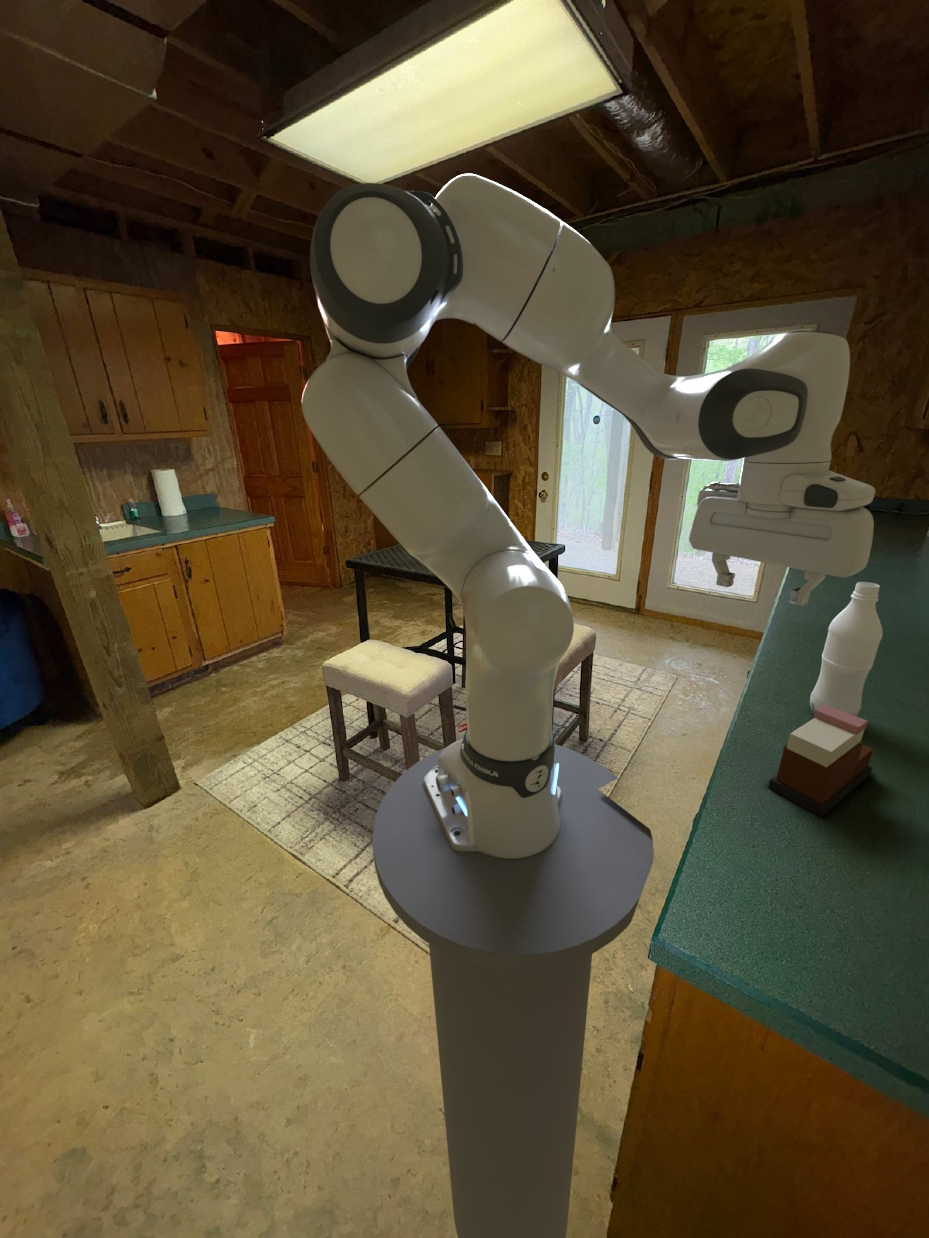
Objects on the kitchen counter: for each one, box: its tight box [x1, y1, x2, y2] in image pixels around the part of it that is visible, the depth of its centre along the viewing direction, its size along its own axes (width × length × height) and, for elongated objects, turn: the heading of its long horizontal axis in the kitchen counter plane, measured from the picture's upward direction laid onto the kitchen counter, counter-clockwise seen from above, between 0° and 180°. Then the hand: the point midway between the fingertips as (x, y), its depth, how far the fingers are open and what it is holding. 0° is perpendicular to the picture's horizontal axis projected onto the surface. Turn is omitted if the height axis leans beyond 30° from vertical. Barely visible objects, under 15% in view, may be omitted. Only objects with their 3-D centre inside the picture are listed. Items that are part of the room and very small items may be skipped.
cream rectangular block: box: [786, 704, 869, 767], centre depth 67 cm, size 10×5×4 cm, turn 122°
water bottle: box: [809, 581, 884, 717], centre depth 82 cm, size 7×7×25 cm
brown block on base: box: [768, 742, 874, 817], centre depth 70 cm, size 15×7×8 cm, turn 122°
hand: (758, 594), depth 63 cm, fingers open, 8 cm apart
